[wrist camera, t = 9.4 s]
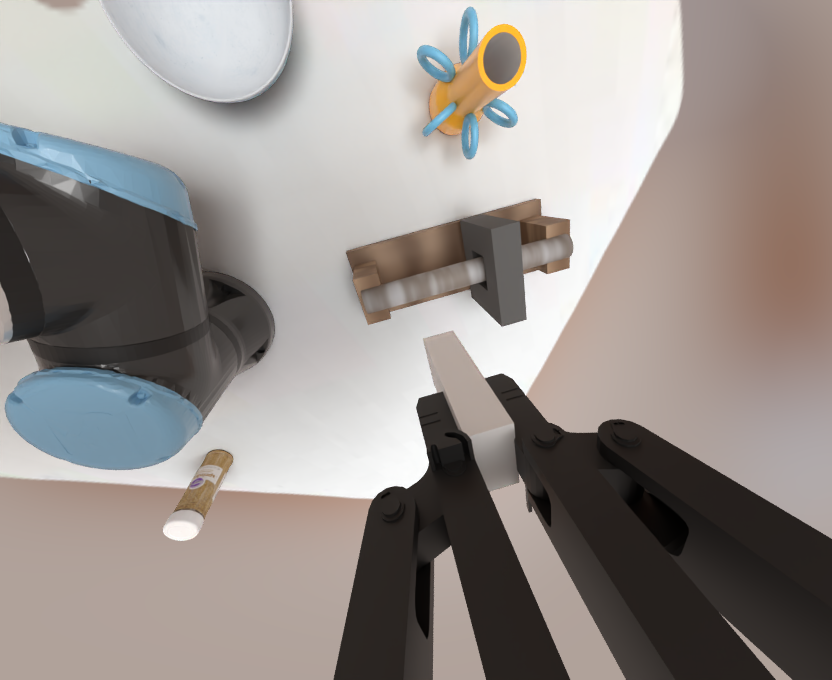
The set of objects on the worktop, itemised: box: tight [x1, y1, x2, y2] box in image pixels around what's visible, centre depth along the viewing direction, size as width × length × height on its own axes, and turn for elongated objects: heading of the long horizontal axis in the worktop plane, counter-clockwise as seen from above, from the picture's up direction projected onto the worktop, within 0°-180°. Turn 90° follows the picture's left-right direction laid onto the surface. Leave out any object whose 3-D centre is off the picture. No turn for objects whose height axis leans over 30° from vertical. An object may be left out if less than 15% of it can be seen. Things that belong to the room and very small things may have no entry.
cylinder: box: [417, 7, 526, 159], centre depth 30 cm, size 12×10×15 cm
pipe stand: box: [346, 199, 573, 325], centre depth 40 cm, size 28×10×11 cm, turn 104°
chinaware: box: [99, 0, 293, 103], centre depth 28 cm, size 15×15×8 cm
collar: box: [460, 214, 526, 326], centre depth 37 cm, size 3×11×11 cm, turn 13°
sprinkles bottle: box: [163, 450, 233, 541], centre depth 49 cm, size 5×5×13 cm
